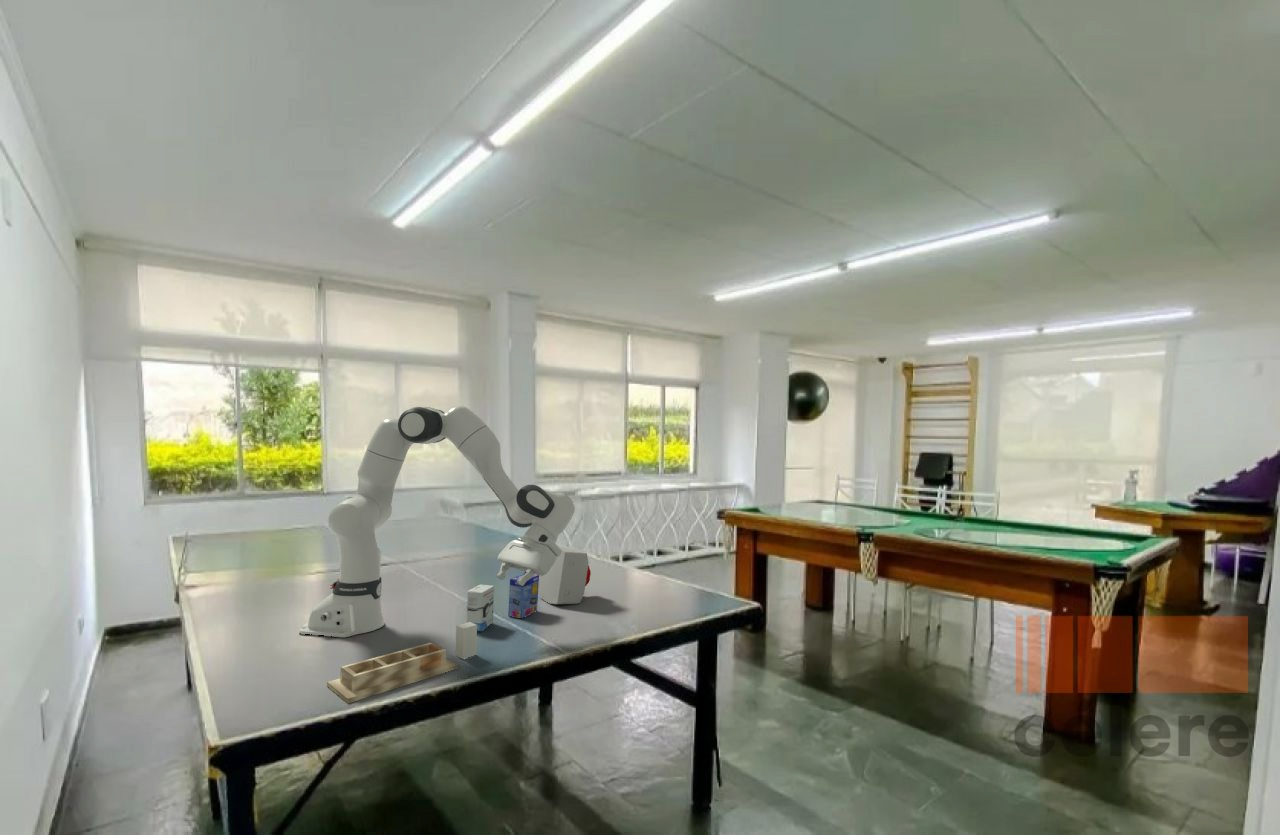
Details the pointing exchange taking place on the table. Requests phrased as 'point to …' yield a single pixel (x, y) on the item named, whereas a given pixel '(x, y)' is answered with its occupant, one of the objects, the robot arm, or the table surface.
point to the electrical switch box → (566, 578)
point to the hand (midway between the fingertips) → (509, 581)
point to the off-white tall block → (466, 640)
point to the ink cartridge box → (523, 597)
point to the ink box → (480, 606)
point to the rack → (390, 671)
